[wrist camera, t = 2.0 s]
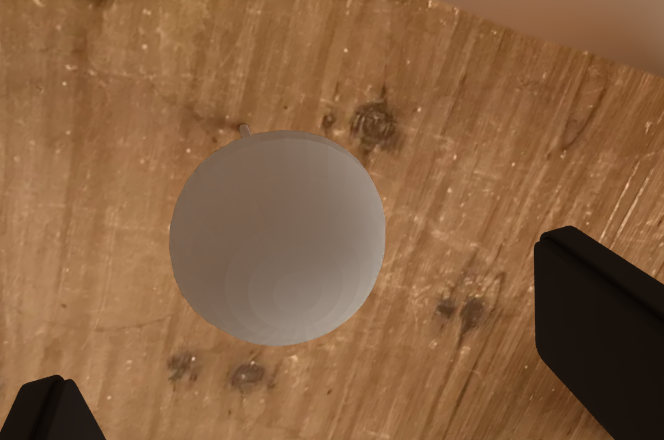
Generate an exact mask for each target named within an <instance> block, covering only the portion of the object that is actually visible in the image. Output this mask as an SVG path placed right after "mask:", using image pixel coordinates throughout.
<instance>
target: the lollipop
mask: <svg viewBox="0 0 664 440" xmlns="http://www.w3.org/2000/svg"><path fill="white" fill-rule="evenodd" d="M239 130H240V134H241V137H242V138H241V139H238V140H235V141H233V142H231V143H229V144H228V145H226V146H224V147H222V148H220V149H219V150H217V151H215V152H214V153H213V154H212V155H210V156H209V157H208V158H207V159H206V160H205V161H203V162H202V163H201V164H200V165H199V166H198V167H197V169H196V170H195V171H194V172H193V174H192V175H191V176H190V177H189V179H188V180H187V181H186V183H185V186H184V188H183V190H182V192H181V194H180V196H179V198H178V200H177V203H176V205H175V209H174V213H173V217H172V221H171V225H170V244H169V249H170V256H171V262H172V267H173V272H174V277H175V279H176V282H177V284H178V286H179V288H180V291H181V293H182V295H183V296H184V298H185V299H186V300H187V302H188V303H189V304H190V306H191V307H192V308H193V310H194V311H196V312H197V313H198V314H199V315H200V316H201V317H203V318H204V319H205V320H206V321H207V322H208V323H210V324H212V325H214V326H216V327H217V328H219V329H221V330H222V331H224V332H226V333H228V334H230V335H232V336H234V337H235V338H237V339H241V340H244V341H247V342H250V343H253V344H261V345H268V346H280V345H292V344H297V343H302V342H307V341H309V340H312V339H315V338H318V337H320V336H323V335H325V334H326V333H328V332H330V331H332V330H334V329H335V328H337V327H339V326H340V325H341V324H343V323H344V322H345V321H346V320H348V319H349V318H350V317H351V316H352V315H353V314H354V313H355V312H356V311H357V310H358V309H359V308H360V307H361V306H362V304H363V303H364V302H365V300H366V299H367V297H368V295H369V294H370V292H371V291H372V289H373V286H374V284H375V281H376V279H377V276H378V274H379V271H380V269H381V266H382V261H383V256H384V251H385V216H384V211H383V206H382V201H381V199H380V196H379V194H378V192H377V190H376V187H375V185H374V183H373V181H372V179H371V177H370V176H369V174H368V173H367V171H366V170H365V169H364V167H363V166H362V165H361V163H360V162H359V161H358V159H357V158H355V157H354V156H353V155H352V154H351V153H349V152H348V151H347V150H346V149H345V148H344V147H342V146H340V145H339V144H337V143H335V142H333V141H331V140H329V139H327V138H325V137H322V136H319V135H315V134H311V133H308V132H304V131H289V130H278V131H271V132H264V133H258V134H254V135H251V133H250V130H249V127H248V126H247V125H246V124H242V125H240V127H239Z"/></svg>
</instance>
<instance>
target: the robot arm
mask: <svg viewBox="0 0 664 440" xmlns="http://www.w3.org/2000/svg"><path fill="white" fill-rule="evenodd" d="M534 287H535V343H536V348H537V351H538V353H539V355H540V357H541V359H542V360H543V361H544V362H545V364H546V365H547V366H548V367H549V368H550V369H551V370H552V371H553V372H554V373H555V375H556V376H557V377H558V378H559V379H560V380H561V381H562V382H563V383H564V384H565V386H566V387H567V388H568V389H569V390H570V391H571V392H572V393H573V394H574V395H575V397H576V398H577V399H578V400H579V401H580V402H581V403H582V404H583V405H584V406H585V408H586V409H587V410H588V411H589V412H590V413H591V414H592V415H593V416H594V417H595V419H596V420H597V421H598V422H599V423H600V424H601V425H602V426H603V427H604V428H605V430H606V431H607V432H608V433H609V434H610V435H611V436H612V437H613V438H614V440H664V285H663V284H662V283H660V282H659V281H657V280H656V279H654V278H653V277H651V276H650V275H648V274H646V273H645V272H643V271H642V270H640V269H639V268H637V267H636V266H634V265H633V264H631V263H629V262H628V261H626V260H625V259H623V258H622V257H620V256H619V255H617V254H616V253H614V252H612V251H611V250H609V249H608V248H606V247H605V246H603V245H602V244H600V243H599V242H597V241H595V240H594V239H592V238H591V237H589V236H588V235H586V234H585V233H583V232H582V231H580V230H578V229H577V228H575V227H573V226H565V227H562V228H558V229H555V230H551V231H548V232H545V233H543V234H542V235H541V237H540V241H539V242H537V243H535V245H534ZM0 440H106V439H105V437H104V435H103V433H102V431H101V429H100V428H99V426H98V424H97V422H96V420H95V418H94V416H93V415H92V413H91V411H90V409H89V407H88V405H87V404H86V402H85V400H84V398H83V396H82V394H81V393H80V391H79V389H78V387H77V385H76V384H75V382H74V381H73V380H72V379H67V380H64V379H63V378H62V377H61V376H60V375H53V376H50V377H46V378H43V379H39V380H36V381H32V382H29V383H26V384H24V385H22V387H21V388H20V390H19V392H18V394H17V397H16V399H15V401H14V403H13V405H12V408H11V410H10V412H9V414H8V416H7V419H6V421H5V423H4V425H3V427H2V429H1V432H0Z"/></svg>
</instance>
